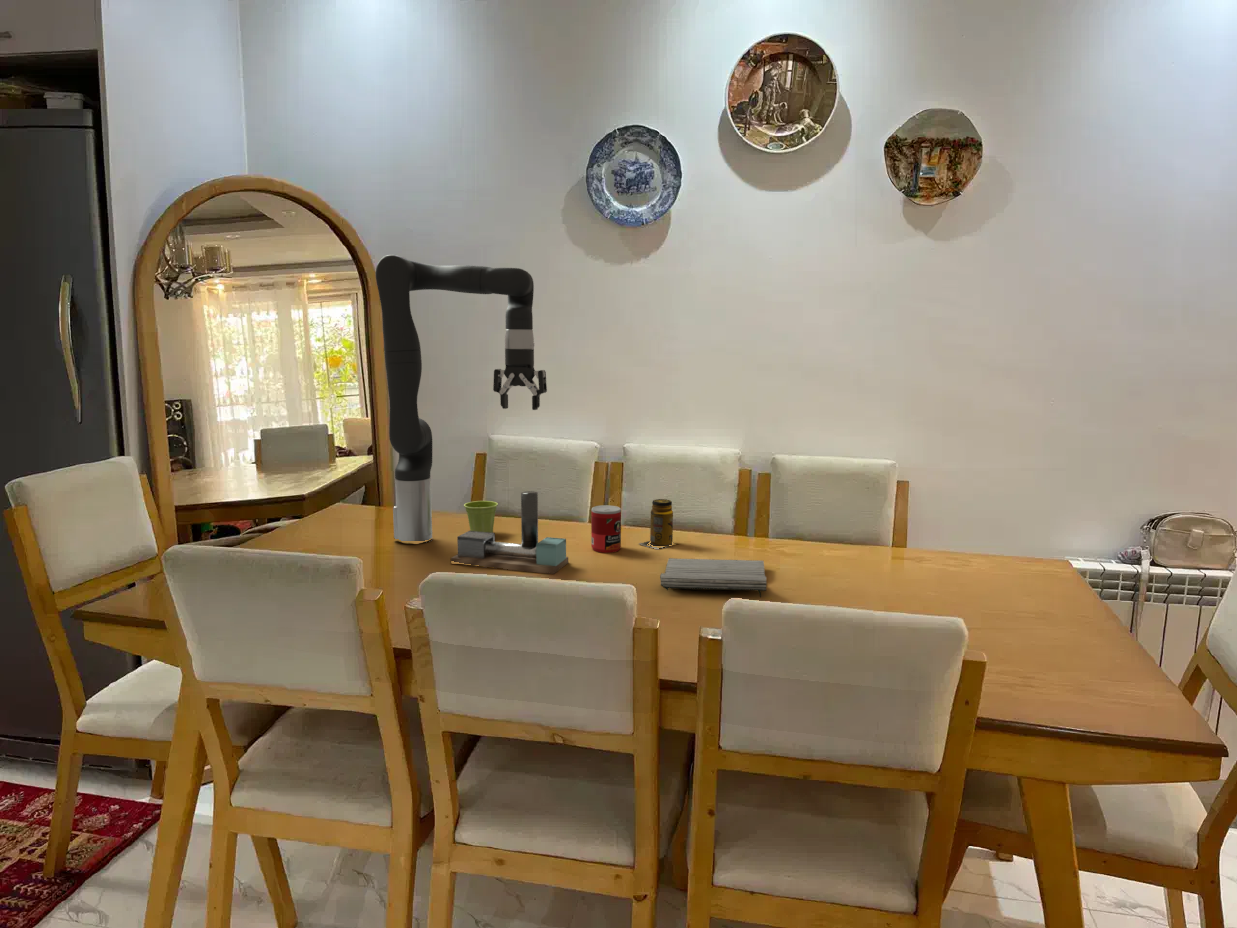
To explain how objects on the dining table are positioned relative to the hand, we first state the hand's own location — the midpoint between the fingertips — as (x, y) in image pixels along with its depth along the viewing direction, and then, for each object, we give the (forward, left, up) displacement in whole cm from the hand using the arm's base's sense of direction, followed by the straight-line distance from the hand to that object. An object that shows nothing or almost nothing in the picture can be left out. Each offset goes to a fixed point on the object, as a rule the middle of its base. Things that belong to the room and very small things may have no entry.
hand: (520, 409), depth 217 cm
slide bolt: (+8, -20, -34) cm, 40 cm away
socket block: (+17, -20, -35) cm, 43 cm away
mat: (+56, -18, -37) cm, 69 cm away
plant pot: (-14, +4, -36) cm, 39 cm away
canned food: (+24, 0, -36) cm, 44 cm away
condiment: (+36, +9, -36) cm, 52 cm away
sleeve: (-3, -20, -35) cm, 40 cm away
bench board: (+6, -20, -36) cm, 42 cm away
